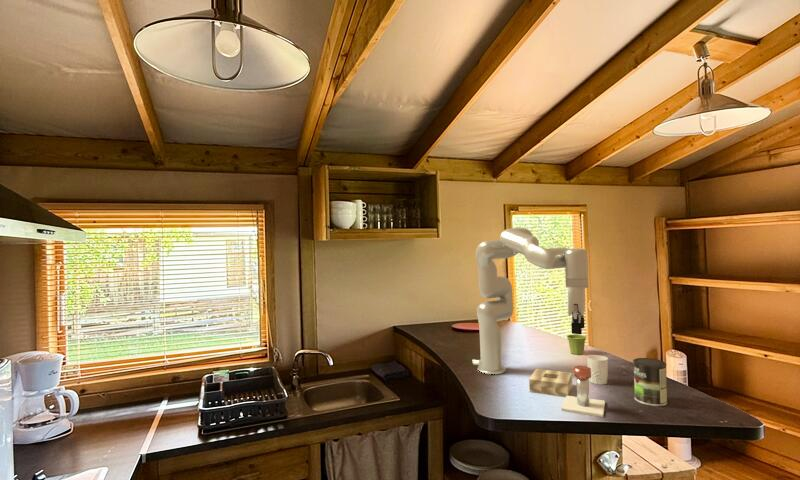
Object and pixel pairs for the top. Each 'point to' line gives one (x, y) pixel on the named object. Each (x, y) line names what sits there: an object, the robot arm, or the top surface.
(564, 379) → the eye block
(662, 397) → the coffee can
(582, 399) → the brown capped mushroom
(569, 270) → the robot arm
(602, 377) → the white cup
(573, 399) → the pad
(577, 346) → the plant pot
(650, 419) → the top surface
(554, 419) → the top surface
